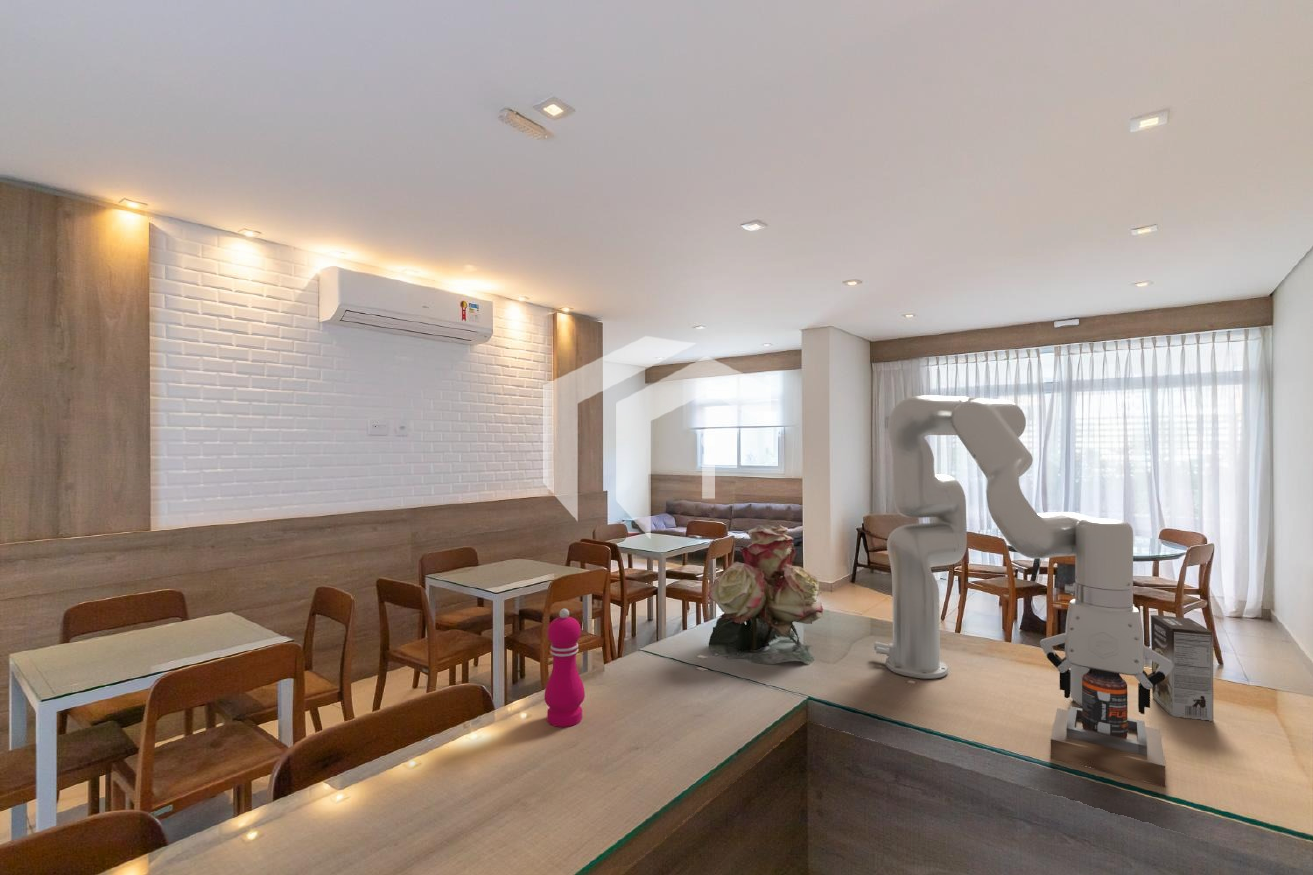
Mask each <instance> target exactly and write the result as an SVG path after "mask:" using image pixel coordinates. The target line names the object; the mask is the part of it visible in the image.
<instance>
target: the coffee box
mask: <svg viewBox="0 0 1313 875" xmlns="http://www.w3.org/2000/svg"><path fill="white" fill-rule="evenodd" d="M1150 625H1151V626H1150V634H1151V635H1150V637H1151V638H1150V642H1151V649H1152V650H1153V651H1155V652H1157V653H1159V654H1161V655H1162V656H1164V657H1166V658H1168V659H1169V660H1171V661H1172V662H1173V664H1174V667H1173V669H1172V670H1171V671H1170V673H1169V674H1168V675H1167V676H1166V677H1165V679H1164V680H1163V681H1161V682H1160V683H1158V684H1156V685H1155V686H1153V687H1152V689H1151V691H1152V692H1151V695H1152V696H1151V697H1152V699H1153V700H1154V701H1156V702H1157V704H1158V705H1160V707H1162V708H1163V709H1164V711H1166V712H1167V713H1168V714H1169V715H1170V716H1171V717H1173V718H1180V717H1185V718H1184V719H1189V718H1193V719H1192V720H1197V719H1201V720H1200V721H1205V720H1209V721H1208V722H1214V718H1215V717H1214V632H1213V631H1211V630H1210V629H1209V628H1207V627H1205V626H1203V625H1202V624H1200V623H1198V622H1197V621H1194V620H1193V619H1192V618H1190V617H1189V618H1188V617H1177V616H1170V615H1159V614H1158V615H1157V614H1151V615H1150ZM1158 667H1159V664H1157V663H1156V662H1154V661H1152V660H1151V673H1152V672H1154V671H1155V670H1157V669H1158Z"/></svg>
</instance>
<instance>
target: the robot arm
mask: <svg viewBox="0 0 1313 875" xmlns="http://www.w3.org/2000/svg"><path fill="white" fill-rule="evenodd" d="M1026 424H1027V420H1026V416H1025V413H1024V411H1023V410H1022V409H1021V407H1020V406H1019V405H1018V404H1016V403H1015V402H1013V401H1011V400H1008V399H995V398H994V399H990V398H981V397H980V398H979V397H969V396H958V395H957V396H955V395H936V394H935V395H934V394H933V395H932V394H927V395H926V394H925V395H923V394H922V395H915V396H909V397H906V398H904V399H902V400H901V401H899V402H898V403H897V404H896V405H895V406H894V407H893V409H892V411H891V412H890V415H889V419H888V429H887V430H888V432H887V433H888V437H889V438H888V439H889V442H890V443H889V444H890V449H891V456H892V464H891V465H892V497H893V506H894V509H895V511H896V513H897V514H898V515H900V516H901V517H904V518H909V519H914V518H915V519H925V518H929V522H928V523H926V522H924V523H911V524H904V525H900V526H898V527H896V528H895V529H893V530H892V531H891V532H890V533H889V535H888V538H887V541H886V550H887V555H888V560H889V564H890V570H891V587H892V588H891V589H892V590H891V592H892V594H891V595H892V642H889V643H883V642H879V641H875V642H874V645H873V648H874V649H873V650H874V651H875V652H876V654H880V655H886V656H887V658H886V659H885V666H886V667H887V668H888V670H890V671H891V672H893V673H896V674H898V675H901V676H905V677H909V678H915V679H922V680H923V679H927V680H929V679H930V680H931V679H939V678H943V677H945V676H947V674H948V672H949V667H948V665H947V664H946V663H945V662H943V661H941V643H940V642H941V637H940V636H941V634H940V631H941V630H940V628H941V627H940V626H941V625H940V624H941V623H940V621H941V620H940V587H939V584H938V581H937V580H936V577H935V575H934V574H933V572H932V570H931V569H932V568H933V567H945V566H950V565H954V564H956V563H959V562H960V561H961V560H962V559H963V558H964V556H965V555H966V553H967V552H966V551H967V544H968V543H967V542H968V537H967V536H968V535H967V534H968V532H967V530H968V529H967V528H968V527H967V502H966V500H967V499H966V494H965V491H964V487H963V486H962V485H961V484H960V482H959V481H958V480H957V479H956V478H955V477H953V476H951V475H948V474H941V473H935V458H934V453H933V449H932V448H931V445H930V444H929V442H928V441H927V440H926V438H925V437H926V436H957V437H958V439H959V440H960V441H961V443H962V444H963V446H964V447H965V449H966V450H967V451H968V453H969V454H970V456H971V457H972V459H973V460H974V462H975V463H976V464H977V465H978V467H979V468H980V470H981V472H982V473H983V474H984V476H985V477H986V479H987V484H986V491H985V492H986V500H987V502H986V503H987V507H988V512H989V513H990V516H991V519H992V521H993V522H994V523H995V525H996V527H997V528H998V530H999V531H1000V532H1001V534H1002V536H1003V537H1004V538H1005V540H1006V541H1007V542H1008V544H1009V545H1010V546H1011V548H1013V549H1014V550H1015V551H1016V552H1017V553H1019V554H1020V555H1021V556H1024V557H1026V558H1029V559H1037V560H1038V559H1039V560H1040V559H1041V560H1042V559H1050V558H1057V557H1060V558H1062V557H1072V556H1073V557H1074V556H1075V557H1074V558H1075V563H1074V564H1075V565H1074V566H1075V569H1074V570H1075V571H1074V572H1075V576H1074V577H1075V579H1074V580H1075V582H1073V583H1071V584H1064V593H1067V594H1070V595H1072V596H1073V597H1074V598H1073V599H1071V600H1070V601H1069V604H1068V608H1067V611H1066V612H1067V614H1066V619H1065V620H1066V621H1065V632H1063V633H1059V634H1056V635H1053V636H1049V637H1045V638H1042V639H1041V640H1040V641H1039V645H1040V647H1041V649H1042V651H1043V652H1044V654H1045V656H1046V658H1047V659H1048V661H1050V663H1051V664H1053V666H1054V667H1055V668H1056V669H1057V671H1058V672H1059V690H1060V691H1063V693H1064V694H1063V695H1064V698H1065V699H1069V698H1071V670H1070V668H1071V667H1072V666H1073V665H1077V666H1081V667H1086V668H1091V669H1096V670H1102V671H1107V672H1113V673H1118V674H1119V675H1126V676H1133V677H1135V679H1136V680H1137V681H1138V683H1137V687H1138V690H1137V692H1138V693H1137V698H1138V700H1137V707H1138V708H1137V709H1138V713H1140V714H1141V715H1145V712H1146V711H1145V708H1149V709H1150V708H1151V690H1152V687H1153V686H1155V685H1156V684H1158V683H1160V682H1161V681H1163V680H1164V679H1165V677H1166V676H1167V675H1168V674H1169V673H1170V671H1171V670H1172V669H1173V667H1174V664H1173V662H1172V661H1171V660H1169V659H1168V658H1166V657H1164V656H1162V655H1161V654H1159V653H1157V652H1155V651H1153V650H1152V648H1149V647H1148V646H1146V645H1145V644H1144V631H1143V625H1142V624H1143V623H1142V619H1141V618H1142V617H1141V613H1140V611H1139V609H1138V607H1136V606H1134V531H1133V530H1134V529H1133V527H1132V526H1131V524H1130V523H1128V522H1126V521H1124V520H1120V519H1114V518H1107V517H1106V518H1105V517H1092V516H1088V515H1084V514H1082V513H1077V512H1074V511H1056V512H1055V511H1053V512H1052V511H1051V512H1050V511H1049V512H1048V511H1047V512H1036V511H1035V509H1034V508H1033V507H1032V506H1031V504H1030V503H1029V501H1028V500H1027V498H1026V497H1025V495H1024V493H1023V492H1022V489H1021V486H1020V477H1022V476H1023V475H1024V474H1025V473H1026V472H1027V471H1028V470H1029V469H1030V468H1031V466H1032V464H1033V461H1034V459H1033V455H1032V454H1031V452H1030V451H1029V450H1028V449H1027V447H1026V446H1025V445H1024V443H1023V442H1022V441H1021V439H1020V438H1019V437H1021V436H1022V435H1023V434H1024V431H1025V430H1026V426H1027V425H1026ZM1062 644H1064V655H1065V656H1064V657H1063V658H1061V657H1060V656H1059V655H1058V654H1057V653H1056V652H1055V650H1054V648H1053V647H1055V646H1059V645H1062ZM1145 658H1147V659H1149V660H1151V662H1152V661H1154V662H1156V663H1157V664H1159V667H1158V669H1157V670H1155V671H1154V672H1152V671H1151V673H1149V674H1148V673H1147V672H1146V670H1144V669H1145Z"/></svg>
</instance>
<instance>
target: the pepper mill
mask: <svg viewBox="0 0 1313 875" xmlns="http://www.w3.org/2000/svg"><path fill="white" fill-rule="evenodd" d="M558 615H559V617H557V618H554V619H553V620H552V621H551V622H550V623H549V625H548V627H547V638H548V640H549V641H550V643H551V645H550V652H549V653H550V654H551V655H552V660H553V661H552V670H551V673H550V676H549V678H548V681H547V684H546V686H545V690H544V702H545V704H546V705H547V706H548V709H547V714H546V716H547V718H546V720H547V722H548V724H549V725H552V726H553V727H560V728H565V727H572V726H575V725H577V724H578V723H580V722H581V721H582V720H583V708H582V706H581V704H582V703H583V702H584V700H585V697H586V696H585V693H586V692H585V687H584V683H583V680H582V678H581V676H580V674H579V671H578V667H577V653H578V652H579V643H578V641H579V639H580V638H581V635H582V628H581V625H580V623H579V621H578V620H577V619H576V618H574V617H571V616H570V611H569V610H568V609H567V608H562V609H561V610H560V611H559V614H558Z"/></svg>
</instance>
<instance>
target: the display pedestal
mask: <svg viewBox="0 0 1313 875" xmlns="http://www.w3.org/2000/svg"><path fill="white" fill-rule="evenodd" d="M1127 725H1128V732H1127V738H1126V739H1124V738H1120V737H1115V736H1111V735H1106V734H1102V733H1097V732H1093V731H1088V730H1084V729H1083V727H1082V707H1081V708H1080V707H1075V706H1070V707H1069V709H1063V708H1060V707H1057V708H1056V713H1055V718H1054V722H1053V725H1052V729H1051V735H1050V759H1053V760H1057V761H1061V762H1066V763H1069V764H1071V765H1072V764H1073V765H1077V766H1081V767H1084V766H1087V767H1086V768H1088V767H1091V768H1090V769H1092V768H1094V769H1093V770H1096V769H1097V770H1096V771H1100V770H1101V772H1103V773H1109V774H1113V775H1115V776H1116V775H1117V776H1120V777H1121V776H1122V777H1125V778H1128V779H1132V780H1136V781H1140V782H1143V783H1148V784H1152V785H1156V786H1160V787H1165V788H1166V785H1167V784H1166V781H1167V780H1166V762H1165V761H1166V760H1165V755H1164V748H1163V747H1164V746H1163V741H1162V735H1161V729H1158V728H1155V727H1150V726H1146V725H1145V720H1143V721H1142V720H1139V719H1133V718H1130V717H1128V724H1127Z"/></svg>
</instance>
